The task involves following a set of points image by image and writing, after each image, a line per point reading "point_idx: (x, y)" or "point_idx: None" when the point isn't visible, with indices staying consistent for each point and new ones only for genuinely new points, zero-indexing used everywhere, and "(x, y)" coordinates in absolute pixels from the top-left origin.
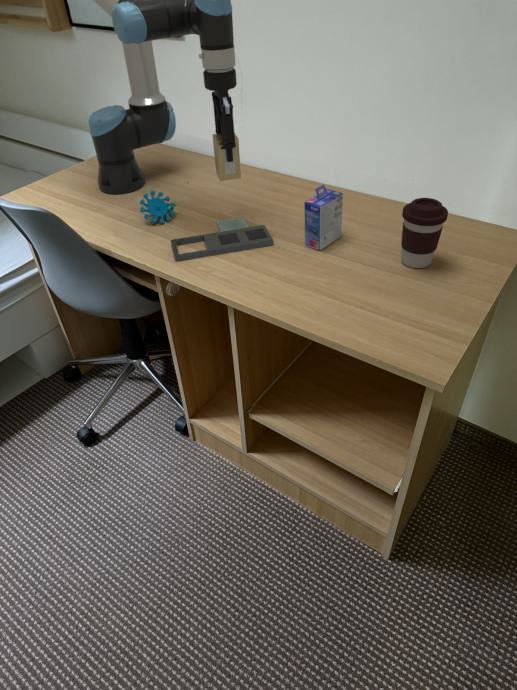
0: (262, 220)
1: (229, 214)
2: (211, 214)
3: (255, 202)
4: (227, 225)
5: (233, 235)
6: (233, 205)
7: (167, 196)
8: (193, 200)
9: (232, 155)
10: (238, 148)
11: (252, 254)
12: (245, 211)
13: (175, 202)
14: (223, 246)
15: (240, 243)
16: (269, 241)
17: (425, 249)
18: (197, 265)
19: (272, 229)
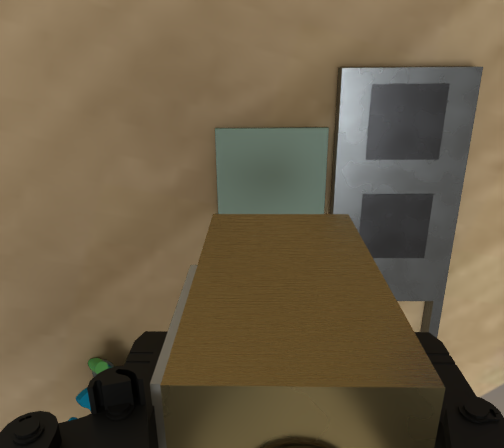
0: (255, 55)
1: (163, 174)
2: (145, 236)
3: (74, 41)
4: (263, 202)
5: (380, 207)
6: (85, 142)
7: (82, 402)
8: (11, 277)
9: (458, 368)
10: (406, 323)
11: (496, 159)
12: (153, 106)
13: (99, 367)
14: (439, 253)
15: (447, 195)
16: (477, 83)
17: None
18: (472, 329)
19: (348, 33)
